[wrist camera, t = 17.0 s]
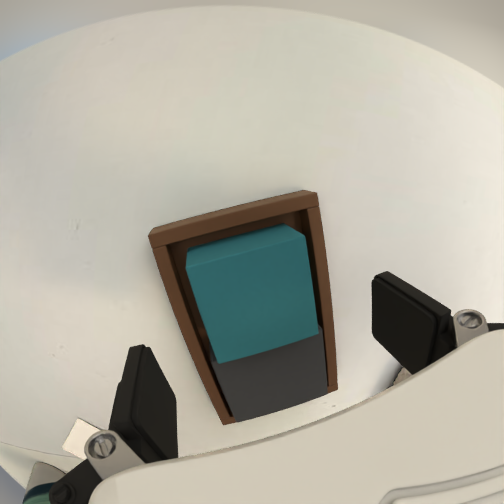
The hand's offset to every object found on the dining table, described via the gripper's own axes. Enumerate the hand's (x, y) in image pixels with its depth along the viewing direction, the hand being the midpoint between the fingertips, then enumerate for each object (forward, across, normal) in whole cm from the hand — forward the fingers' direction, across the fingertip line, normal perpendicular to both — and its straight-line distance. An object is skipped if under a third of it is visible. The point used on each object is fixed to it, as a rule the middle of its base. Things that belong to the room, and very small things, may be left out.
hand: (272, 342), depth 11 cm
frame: (+8, 0, +4) cm, 9 cm away
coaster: (+8, +19, +16) cm, 26 cm away
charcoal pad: (+8, 0, +7) cm, 11 cm away
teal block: (+7, 0, 0) cm, 8 cm away
